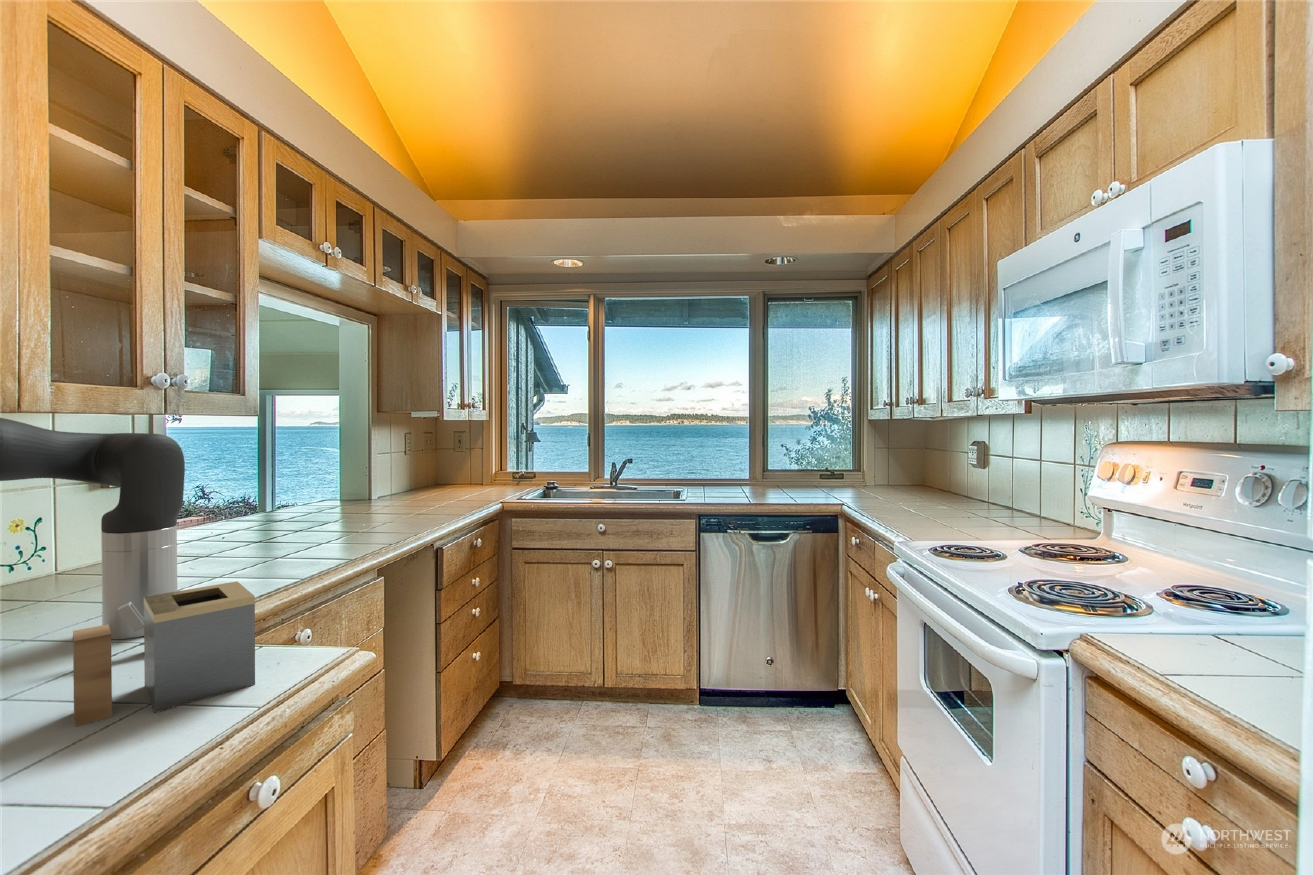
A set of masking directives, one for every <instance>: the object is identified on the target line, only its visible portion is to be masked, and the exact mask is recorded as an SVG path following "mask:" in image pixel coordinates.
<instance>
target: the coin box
mask: <svg viewBox="0 0 1313 875" xmlns="http://www.w3.org/2000/svg"><path fill="white" fill-rule="evenodd" d="M255 598H256V596H255V595H254V594H253V593H252V592H251V591H249V589H247V588H246V587H245V586H244V585H242V584H241V583H240V582H239V581H230V582H225V583H219V584H211V585H207V586H201V587H200V586H199V587H196V588H189V589H184V590H183V589H182V590H177V591H176V592H170V593H164V594H158V595H152V596H146V597H144V636H143V638H144V639H143V640H144V641H143V642H144V643H143V644H144V645H143V648H144V653H143V654H144V655H143V656H144V663H143V664H144V688H145V691H146V694H147V696H148V699H149V702H150V704H151V707H152V709H153V712H154V713H155V714H157V713H159V712H163V711H167V710H171V709H173V708H177V707H180V706H184V705H187V704H190V703H192V704H193V703H194V702H197V701H201V700H205V699H209V698H212V697H216V696H219V695H222V694H225V693H230V692H234V691H236V690H240V689H244V688H246V687H250V686H253V685H256V613H255V612H256V603H255V602H256V601H255V600H256V599H255Z"/></svg>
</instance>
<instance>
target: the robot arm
mask: <svg viewBox="0 0 1313 875" xmlns="http://www.w3.org/2000/svg"><path fill="white" fill-rule="evenodd" d="M185 463H186V462H185V456H184V452H183V449H182V448H181V446H180V445H179V443H178V442H177V441H176V440H175V439H173V438H171V437H170V436H168V435H165V434H162V433H161V434H160V433H148V432H146V433H143V432H142V433H141V432H140V433H139V432H136V433H135V432H119V433H116V432H115V433H93V432H73V431H72V432H71V431H58V430H53V429H49V428H43V427H40V426H35V425H33V424H29V423H26V422H21V421H17V420H13V419H10V418H9V419H8V418H4V417H0V482H7V481H20V480H31V479H54V480H55V479H57V480H58V479H59V480H67V481H77V482H85V483H91V484H97V485H105V486H106V485H107V486H110V487H117V488H119V499H118V503H117V504H116V506H115V507H114V508H113V509H111V510H109V511H107V512H105V513H104V514H103V515H102V517H101V522H100V525H101V526H100V528H101V588H102V589H101V602H102V603H101V605H102V606H101V610H102V611H101V614H102V615H101V617H102V618H101V619H102V624H101V626H102V625H107V624H108V625H109V628H110V631H111V640H122V639H123V640H125V639H133V638H138V637H144V627H143V628H141V629H139V630H137V631H135V632H134V631H133V630H132V628H131V627H130V626H129V624H128V623H127V622H126V620H125V619H124V618H123V617H122V615H121V614H120V613H119V611H118V608H119V607H120V606H122V605H124V604H127V603H129V602H131V603H132V604H133V605H134V607H135V608H136V609H137V611H138V612H139V613H140V615H141V616H142V617H143V619H144V597H146V596H152V595H158V594H164V593H170V592H176V591H178V539H177V538H178V530H177V528H178V516H179V513H180V511H181V509H182V508H183V507H182V506H183V503H184V494H185V492H184V490H185V475H186V474H185V473H186V472H185V470H186V468H185V467H186V465H185Z"/></svg>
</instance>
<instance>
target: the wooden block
mask: <svg viewBox="0 0 1313 875" xmlns="http://www.w3.org/2000/svg"><path fill="white" fill-rule="evenodd" d="M72 647H73V648H72V649H73V650H72V655H73V656H72V660H73V663H72V664H73V666H72V667H73V668H72V670H73V672H72V674H73V676H72V677H73V716H74V726H75V727H80V726H82V725H87V724H89V723H93V722H96V721H101V720H104V719H107V718H111V717H113V691H112V690H113V687H112V686H113V683H112V680H113V679H112V677H113V672H112V667H113V666H112V665H113V664H112V639H111V631H110V628H109V625H108V624H107V625H102V624H101V625H98V626H97V625H96V626H93V627H86V628H82V629H81V628H80V629H76V630H72Z"/></svg>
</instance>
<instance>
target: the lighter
mask: <svg viewBox="0 0 1313 875" xmlns="http://www.w3.org/2000/svg"><path fill="white" fill-rule="evenodd" d="M118 611H119V613H120V614H121V615H122V617H123V618H124V619H125V620H126V622H127V623H128V624H129V626H130V627H131V628H132V630H133V631H134V632H135V631H137V630H139V629H141V628H143V627H144V619H143V617H142V616H141V615H140V613H139V612H138V611H137V609H136V608H135V607H134V605H133V604H132V603H131V602H129V603H127V604H124V605H122V606H120V607H119V608H118Z"/></svg>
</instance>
